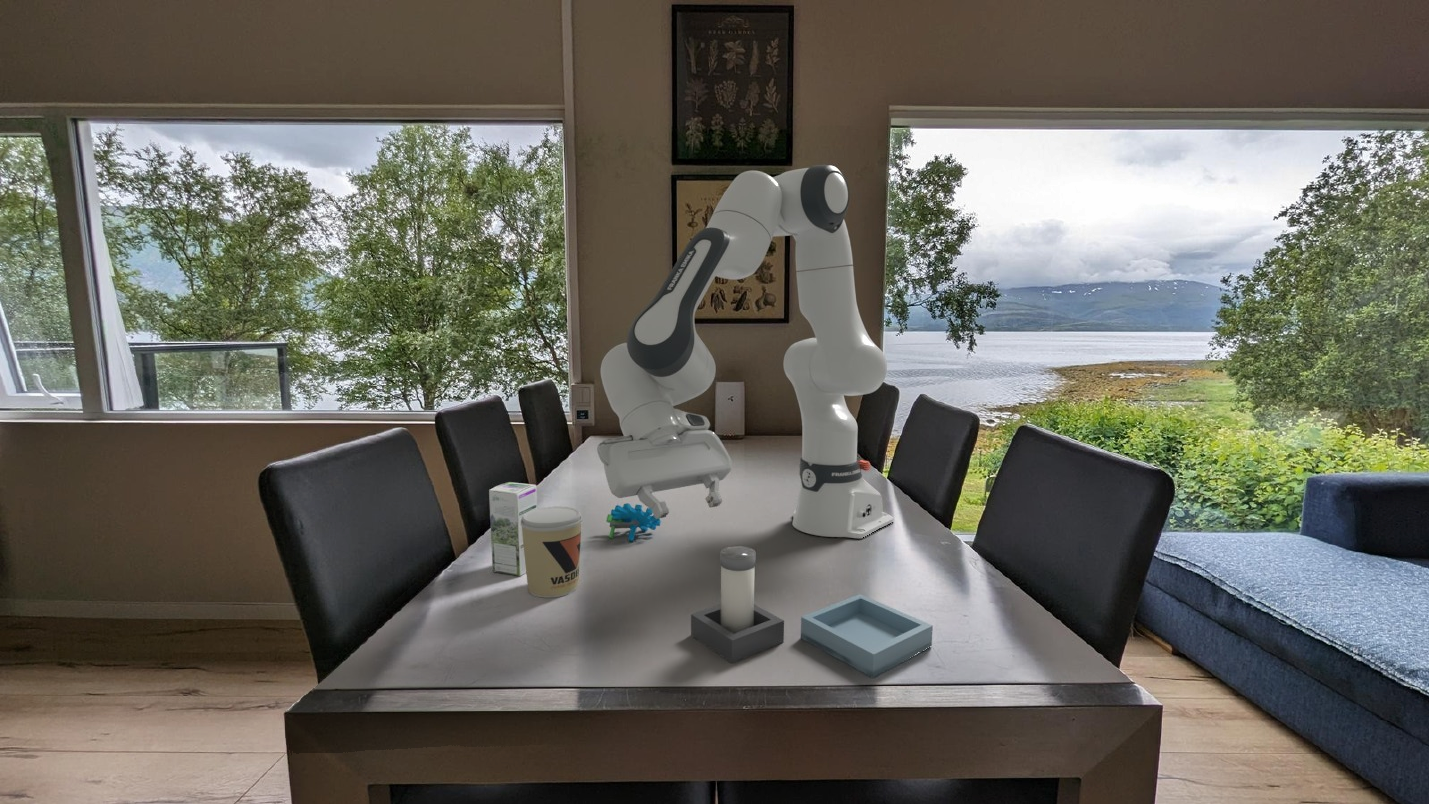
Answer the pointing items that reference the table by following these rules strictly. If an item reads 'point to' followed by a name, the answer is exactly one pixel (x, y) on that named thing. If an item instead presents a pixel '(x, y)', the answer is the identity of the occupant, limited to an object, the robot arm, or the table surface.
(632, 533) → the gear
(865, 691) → the table surface
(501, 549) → the syrup box
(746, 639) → the socket
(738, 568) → the cylinder
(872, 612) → the tray
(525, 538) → the cream lidded tub
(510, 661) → the table surface
